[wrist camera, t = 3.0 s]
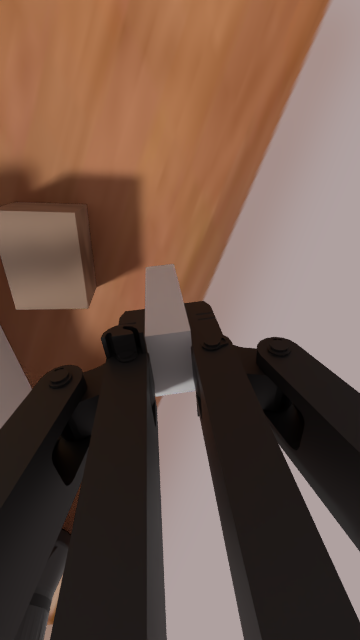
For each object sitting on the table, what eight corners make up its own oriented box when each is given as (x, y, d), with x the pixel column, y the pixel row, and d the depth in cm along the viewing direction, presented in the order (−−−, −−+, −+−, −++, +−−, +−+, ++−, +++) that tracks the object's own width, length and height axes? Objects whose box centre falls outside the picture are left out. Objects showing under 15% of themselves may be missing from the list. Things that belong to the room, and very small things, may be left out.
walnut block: (96, 286, 28) (88, 308, 24) (36, 286, 28) (16, 309, 23) (87, 203, 24) (74, 212, 20) (15, 201, 24) (-13, 210, 19)
